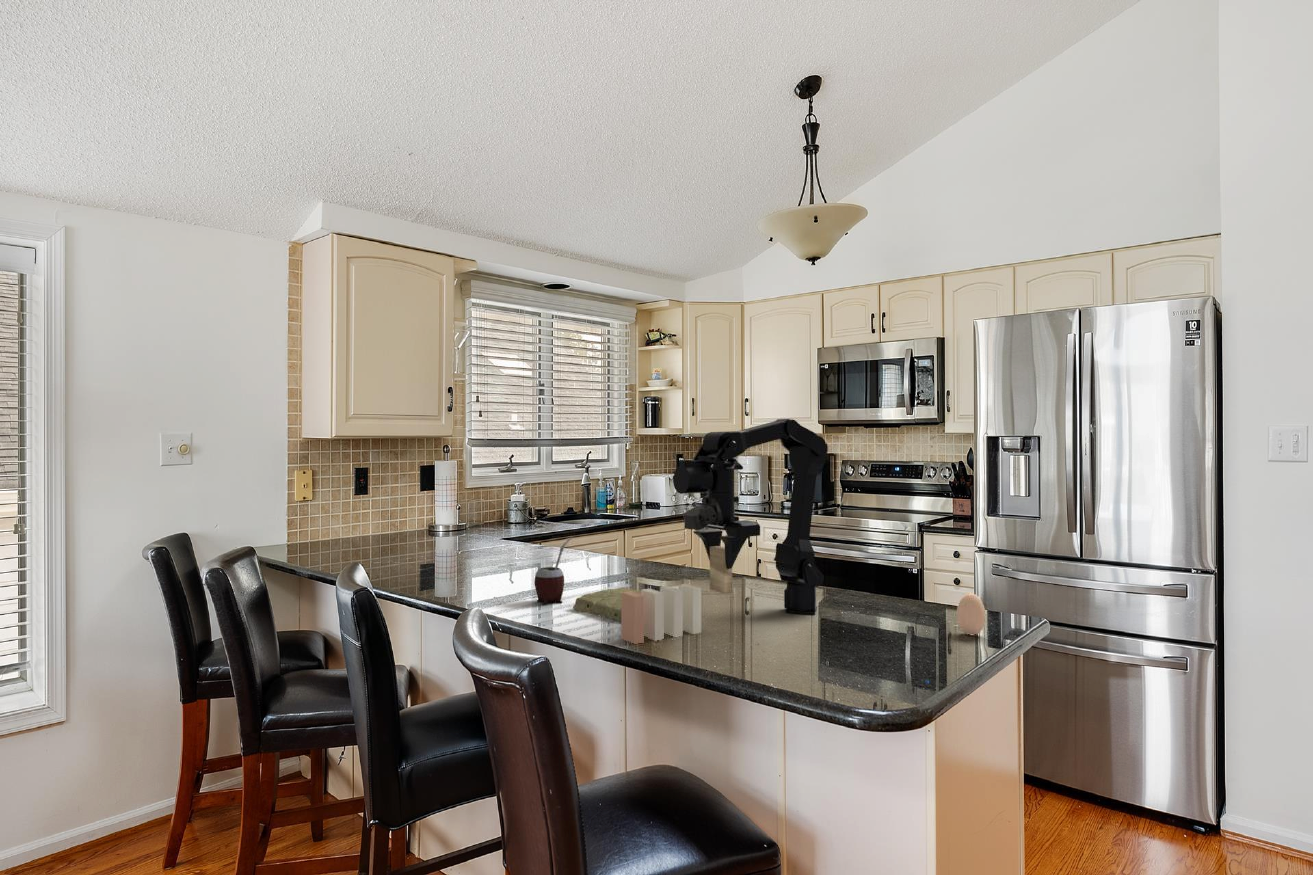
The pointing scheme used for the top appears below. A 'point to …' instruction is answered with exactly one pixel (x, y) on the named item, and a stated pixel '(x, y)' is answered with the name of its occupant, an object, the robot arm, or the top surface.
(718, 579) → the domino
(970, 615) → the egg
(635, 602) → the domino
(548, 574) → the mate gourd
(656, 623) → the domino
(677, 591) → the domino
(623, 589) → the olive green slab
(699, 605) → the domino
